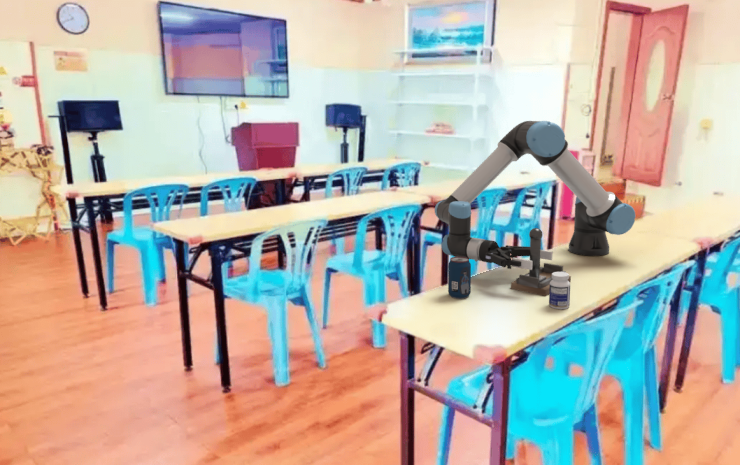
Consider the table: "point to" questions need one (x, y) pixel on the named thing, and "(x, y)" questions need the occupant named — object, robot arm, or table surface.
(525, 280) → the press base
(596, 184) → the robot arm
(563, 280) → the pill bottle
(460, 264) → the soda can
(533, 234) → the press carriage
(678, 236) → the table surface
